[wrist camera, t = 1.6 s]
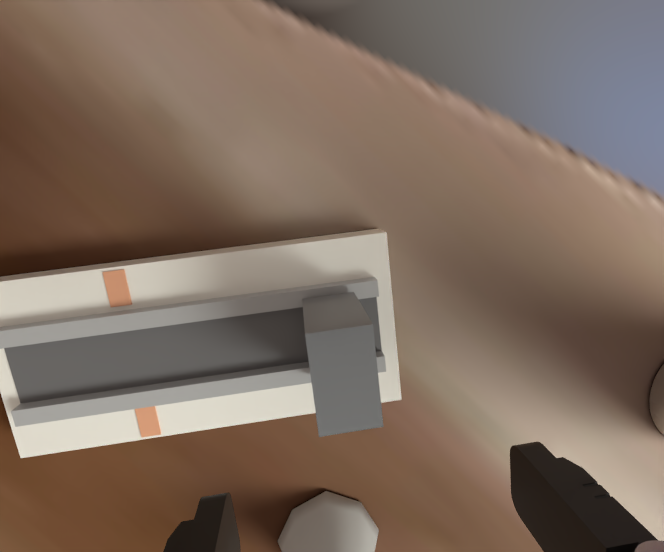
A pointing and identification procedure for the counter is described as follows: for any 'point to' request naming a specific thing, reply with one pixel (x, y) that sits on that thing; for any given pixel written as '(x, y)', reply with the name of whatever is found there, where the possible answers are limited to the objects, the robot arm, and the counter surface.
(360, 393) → the fader tab
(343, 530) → the flask
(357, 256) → the fader console
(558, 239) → the counter surface
